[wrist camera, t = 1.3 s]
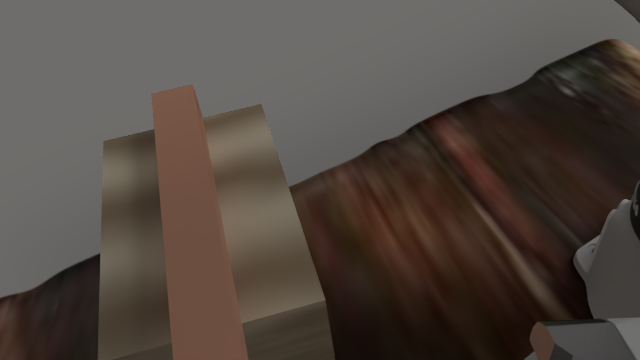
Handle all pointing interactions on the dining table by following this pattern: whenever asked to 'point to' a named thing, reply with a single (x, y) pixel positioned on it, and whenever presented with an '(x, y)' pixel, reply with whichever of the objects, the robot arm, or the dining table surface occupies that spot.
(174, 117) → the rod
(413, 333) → the dining table surface
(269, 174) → the stand
